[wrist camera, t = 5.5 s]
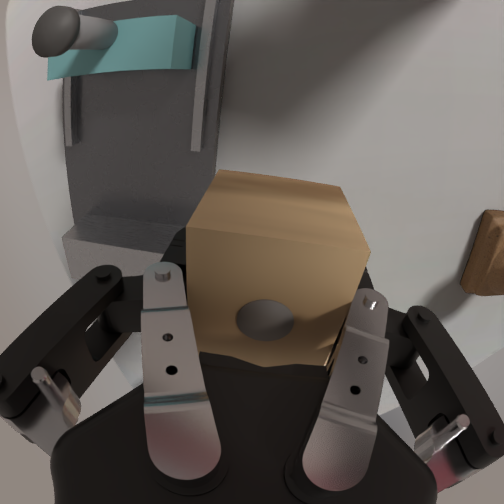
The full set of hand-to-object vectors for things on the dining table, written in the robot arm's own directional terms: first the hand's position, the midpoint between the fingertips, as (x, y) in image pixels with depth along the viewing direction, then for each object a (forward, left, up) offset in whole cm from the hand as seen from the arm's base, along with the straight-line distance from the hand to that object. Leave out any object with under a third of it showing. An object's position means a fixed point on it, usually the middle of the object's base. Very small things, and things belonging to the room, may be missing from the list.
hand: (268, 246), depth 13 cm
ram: (-9, -13, -14) cm, 21 cm away
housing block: (0, 0, 0) cm, 0 cm away
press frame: (0, -13, -16) cm, 21 cm away
